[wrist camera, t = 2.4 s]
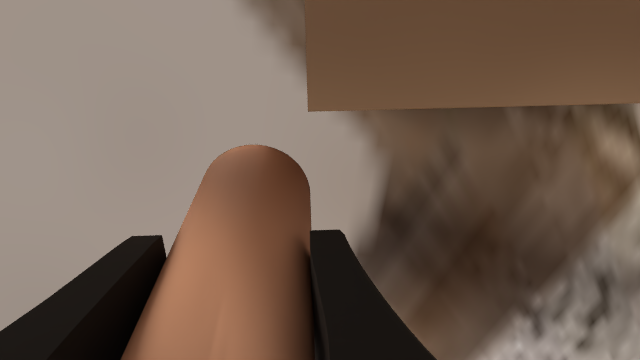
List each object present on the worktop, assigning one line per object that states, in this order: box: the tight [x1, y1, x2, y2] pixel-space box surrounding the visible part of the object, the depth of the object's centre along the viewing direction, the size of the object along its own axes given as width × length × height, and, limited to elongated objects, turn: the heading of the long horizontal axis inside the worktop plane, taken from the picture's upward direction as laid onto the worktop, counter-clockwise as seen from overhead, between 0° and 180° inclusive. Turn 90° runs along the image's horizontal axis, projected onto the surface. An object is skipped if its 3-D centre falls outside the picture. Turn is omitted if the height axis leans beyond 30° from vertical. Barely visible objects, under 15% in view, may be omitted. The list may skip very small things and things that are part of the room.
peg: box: [121, 145, 315, 360], centre depth 8 cm, size 3×3×9 cm
